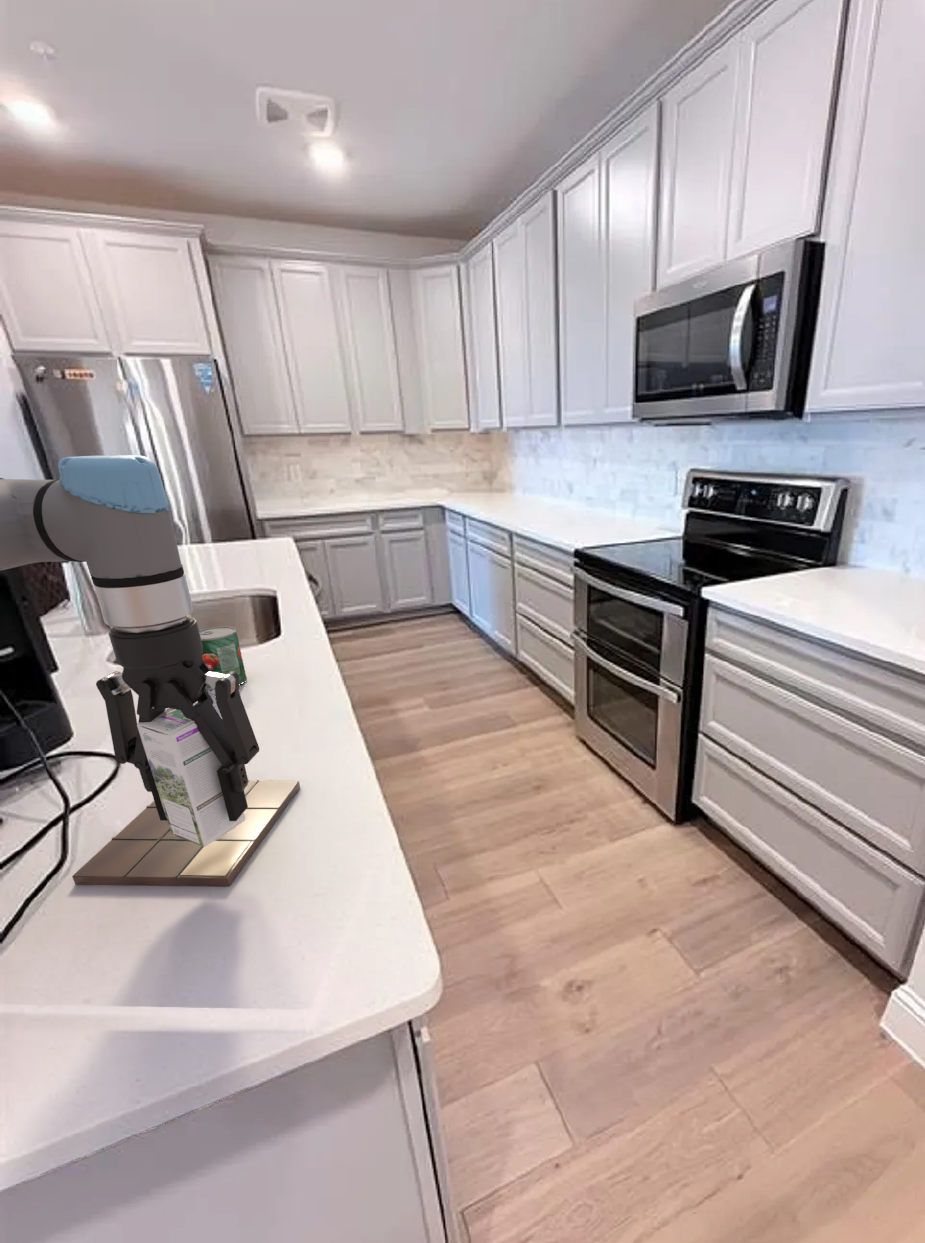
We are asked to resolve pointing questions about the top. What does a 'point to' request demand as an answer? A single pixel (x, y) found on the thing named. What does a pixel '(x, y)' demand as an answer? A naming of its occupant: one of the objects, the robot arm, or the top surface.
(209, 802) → the syrup box
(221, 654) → the canned tomato
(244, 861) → the game board
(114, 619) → the robot arm
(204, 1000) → the top surface
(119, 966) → the top surface
